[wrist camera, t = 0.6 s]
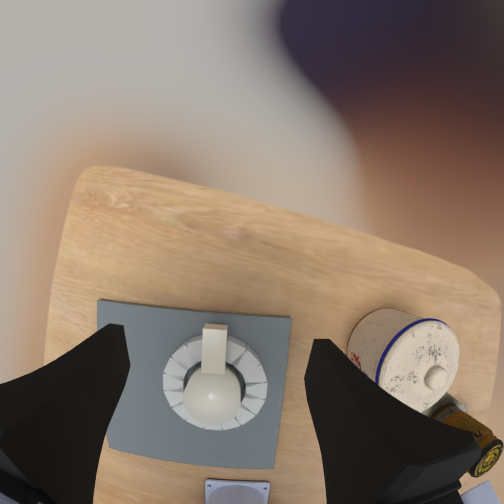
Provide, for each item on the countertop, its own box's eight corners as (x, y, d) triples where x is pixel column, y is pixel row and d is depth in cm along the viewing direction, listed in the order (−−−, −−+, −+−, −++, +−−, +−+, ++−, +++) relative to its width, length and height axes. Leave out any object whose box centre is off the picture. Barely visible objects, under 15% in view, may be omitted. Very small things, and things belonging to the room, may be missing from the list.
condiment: (436, 447, 30) (479, 487, 18) (405, 431, 30) (452, 478, 18) (466, 407, 30) (517, 439, 18) (439, 387, 30) (496, 422, 18)
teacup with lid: (327, 356, 30) (369, 402, 18) (379, 289, 30) (443, 301, 19) (393, 405, 30) (443, 451, 18) (438, 346, 30) (501, 372, 19)
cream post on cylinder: (239, 402, 28) (238, 426, 23) (191, 398, 28) (183, 421, 23) (244, 320, 29) (245, 333, 24) (193, 316, 29) (183, 327, 24)
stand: (272, 464, 29) (274, 478, 26) (111, 444, 29) (103, 456, 26) (289, 316, 30) (294, 322, 27) (101, 299, 29) (88, 302, 26)
